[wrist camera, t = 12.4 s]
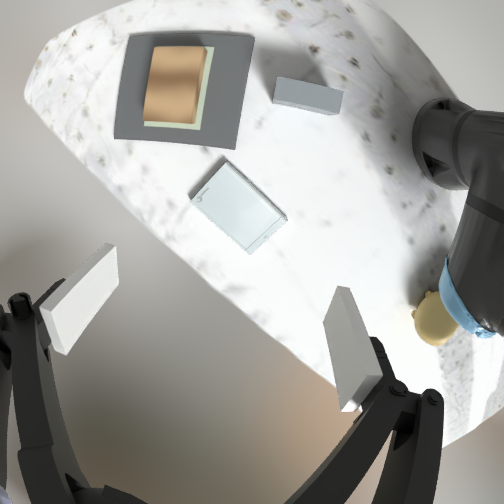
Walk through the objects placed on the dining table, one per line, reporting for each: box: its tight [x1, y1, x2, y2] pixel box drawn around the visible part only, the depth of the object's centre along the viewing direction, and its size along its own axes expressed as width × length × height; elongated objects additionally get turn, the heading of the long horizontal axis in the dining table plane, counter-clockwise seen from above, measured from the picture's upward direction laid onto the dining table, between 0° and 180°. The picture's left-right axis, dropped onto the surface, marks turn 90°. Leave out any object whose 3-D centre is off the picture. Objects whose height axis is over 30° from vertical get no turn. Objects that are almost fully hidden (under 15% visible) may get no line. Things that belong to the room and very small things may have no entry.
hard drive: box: [190, 162, 288, 255], centre depth 41 cm, size 2×8×12 cm
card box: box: [142, 47, 208, 124], centre depth 31 cm, size 11×7×2 cm, turn 171°
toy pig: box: [411, 291, 459, 346], centre depth 42 cm, size 10×12×11 cm
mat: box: [114, 33, 255, 150], centre depth 33 cm, size 19×17×1 cm
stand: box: [272, 76, 343, 115], centre depth 31 cm, size 8×3×6 cm, turn 81°
